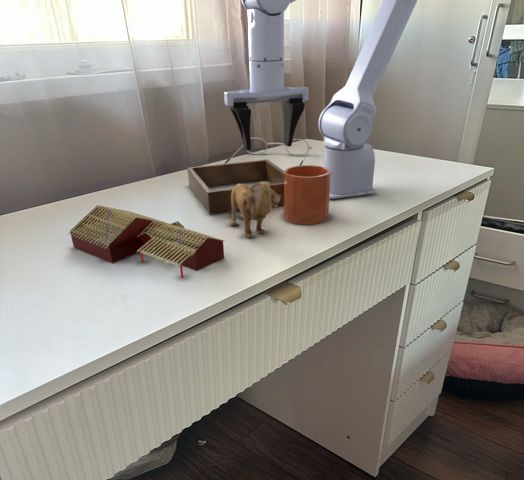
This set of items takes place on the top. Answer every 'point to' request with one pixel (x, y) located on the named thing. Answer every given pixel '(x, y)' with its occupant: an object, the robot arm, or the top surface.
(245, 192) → the lion figurine
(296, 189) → the cup
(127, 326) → the top surface
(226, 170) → the wooden frame
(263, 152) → the eyeglasses
